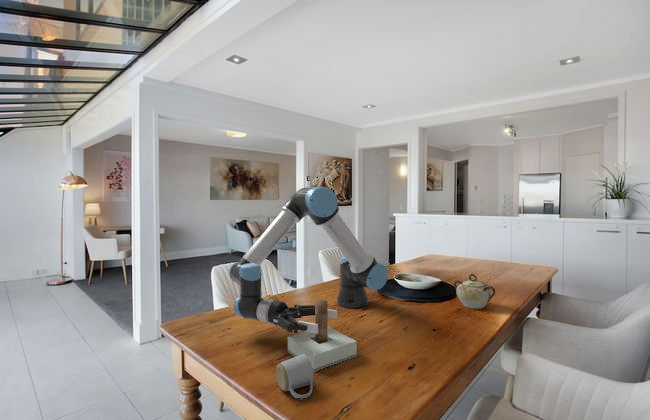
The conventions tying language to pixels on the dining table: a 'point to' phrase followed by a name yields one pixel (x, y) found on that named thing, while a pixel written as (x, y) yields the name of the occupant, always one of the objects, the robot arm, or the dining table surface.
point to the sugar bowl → (473, 293)
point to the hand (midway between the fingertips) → (327, 321)
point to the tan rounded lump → (271, 298)
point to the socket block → (323, 348)
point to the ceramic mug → (295, 375)
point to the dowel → (321, 321)
